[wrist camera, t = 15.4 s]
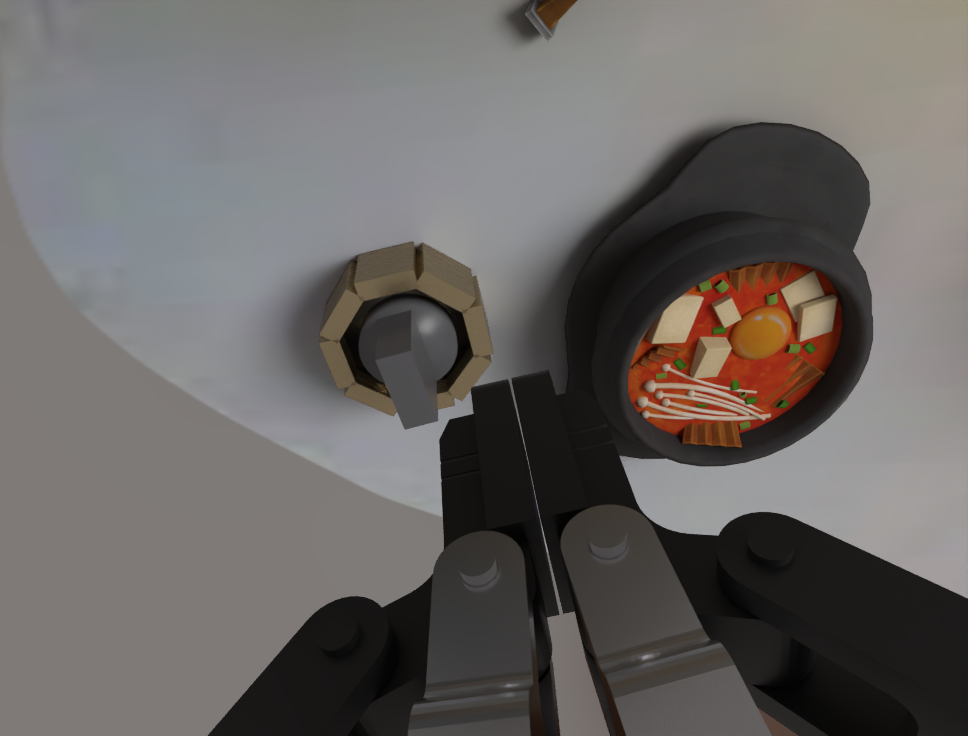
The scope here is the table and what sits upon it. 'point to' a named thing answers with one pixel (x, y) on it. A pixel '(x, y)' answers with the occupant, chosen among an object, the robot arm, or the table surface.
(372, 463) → the table surface
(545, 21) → the wooden post with brackets
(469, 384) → the octagonal wooden ring
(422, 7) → the table surface
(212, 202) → the table surface
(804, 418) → the casserole
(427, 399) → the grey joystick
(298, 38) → the table surface
